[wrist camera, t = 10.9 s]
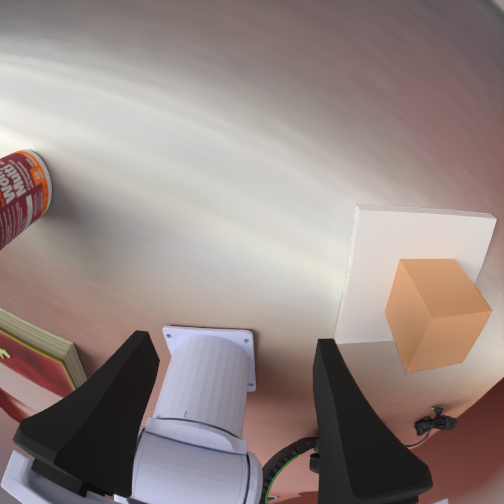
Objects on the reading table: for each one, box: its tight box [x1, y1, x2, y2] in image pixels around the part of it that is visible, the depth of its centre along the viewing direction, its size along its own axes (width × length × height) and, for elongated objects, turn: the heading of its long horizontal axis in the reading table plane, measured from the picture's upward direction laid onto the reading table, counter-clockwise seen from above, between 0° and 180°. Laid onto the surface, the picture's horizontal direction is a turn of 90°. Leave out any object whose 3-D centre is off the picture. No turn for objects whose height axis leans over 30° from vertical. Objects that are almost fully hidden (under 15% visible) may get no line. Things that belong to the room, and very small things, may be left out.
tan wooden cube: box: [384, 258, 492, 373], centre depth 17 cm, size 5×5×6 cm
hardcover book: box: [0, 308, 88, 398], centre depth 29 cm, size 12×21×4 cm, turn 77°
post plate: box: [334, 204, 497, 344], centre depth 19 cm, size 12×12×4 cm
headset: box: [259, 407, 459, 504], centre depth 27 cm, size 18×14×29 cm
